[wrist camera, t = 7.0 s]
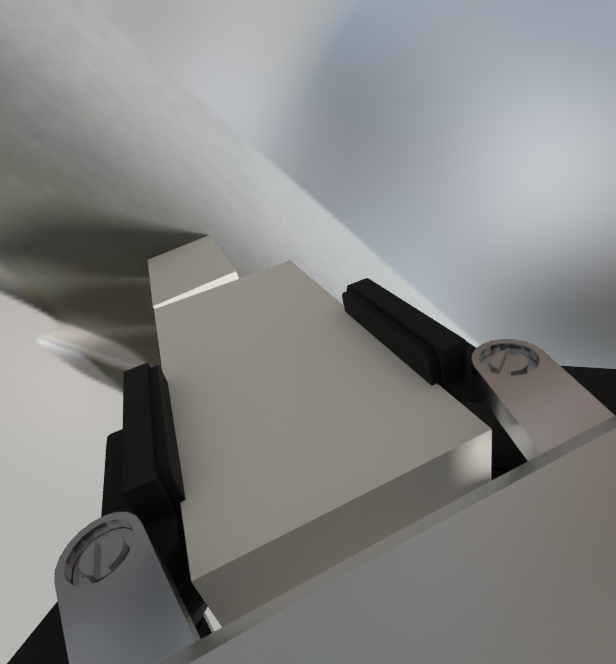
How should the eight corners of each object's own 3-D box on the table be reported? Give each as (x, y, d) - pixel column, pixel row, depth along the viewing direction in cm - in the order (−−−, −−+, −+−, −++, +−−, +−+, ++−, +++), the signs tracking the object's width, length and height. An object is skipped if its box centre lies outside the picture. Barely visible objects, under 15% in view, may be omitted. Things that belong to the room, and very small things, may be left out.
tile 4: (153, 309, 14) (191, 581, 6) (290, 260, 15) (492, 429, 7) (172, 347, 15) (228, 636, 6) (300, 299, 16) (490, 492, 7)
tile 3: (217, 253, 33) (245, 294, 25) (157, 278, 32) (165, 329, 24) (209, 235, 32) (235, 271, 24) (147, 259, 31) (152, 306, 23)
